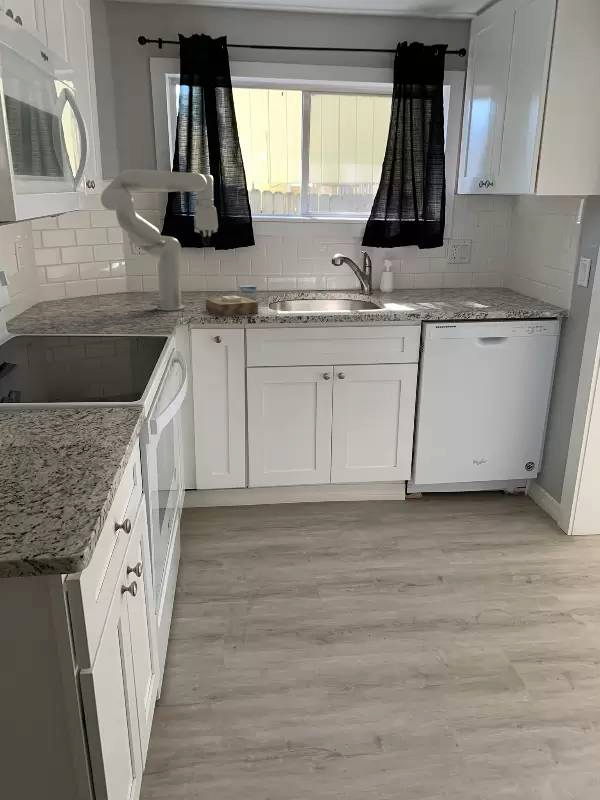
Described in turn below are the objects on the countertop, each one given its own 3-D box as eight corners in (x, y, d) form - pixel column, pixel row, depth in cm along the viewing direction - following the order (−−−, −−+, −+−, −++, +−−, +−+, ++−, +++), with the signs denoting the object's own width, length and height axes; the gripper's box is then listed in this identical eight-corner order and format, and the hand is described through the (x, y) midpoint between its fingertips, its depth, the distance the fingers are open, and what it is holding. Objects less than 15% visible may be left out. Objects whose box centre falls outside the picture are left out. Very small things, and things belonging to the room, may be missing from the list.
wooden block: (220, 316, 263) (220, 304, 261) (206, 310, 276) (205, 299, 274) (258, 313, 271) (257, 301, 270) (242, 307, 284) (242, 296, 283)
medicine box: (240, 305, 290) (240, 286, 287) (238, 303, 294) (238, 285, 291) (256, 304, 292) (256, 286, 289) (254, 303, 296) (254, 285, 293)
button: (228, 312, 269) (227, 298, 267) (222, 309, 274) (222, 296, 273) (241, 311, 272) (241, 297, 270) (235, 308, 278) (235, 295, 276)
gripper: (192, 203, 270) (193, 246, 276) (223, 204, 278) (224, 245, 283) (186, 203, 276) (188, 245, 282) (217, 203, 284) (218, 244, 289)
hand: (206, 245), depth 283 cm, fingers closed
